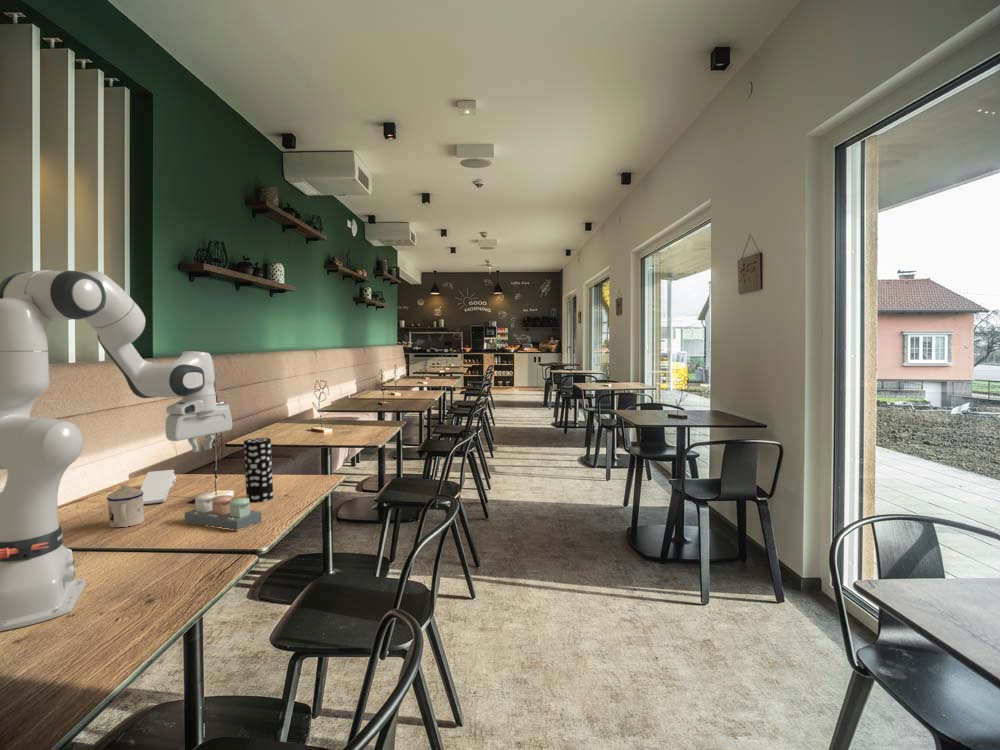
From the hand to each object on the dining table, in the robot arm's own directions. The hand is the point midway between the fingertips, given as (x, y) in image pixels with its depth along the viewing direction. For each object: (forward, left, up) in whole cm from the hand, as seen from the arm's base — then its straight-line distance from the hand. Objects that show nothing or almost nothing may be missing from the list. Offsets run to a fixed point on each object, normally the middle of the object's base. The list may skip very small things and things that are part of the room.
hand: (202, 450), depth 170 cm
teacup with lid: (+10, +19, -21) cm, 30 cm away
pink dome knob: (-6, -4, -19) cm, 20 cm away
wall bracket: (+41, +9, -22) cm, 48 cm away
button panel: (-6, -4, -21) cm, 22 cm away
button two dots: (-12, -7, -19) cm, 23 cm away
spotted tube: (+12, -19, -21) cm, 31 cm away
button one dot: (0, 0, -19) cm, 19 cm away
